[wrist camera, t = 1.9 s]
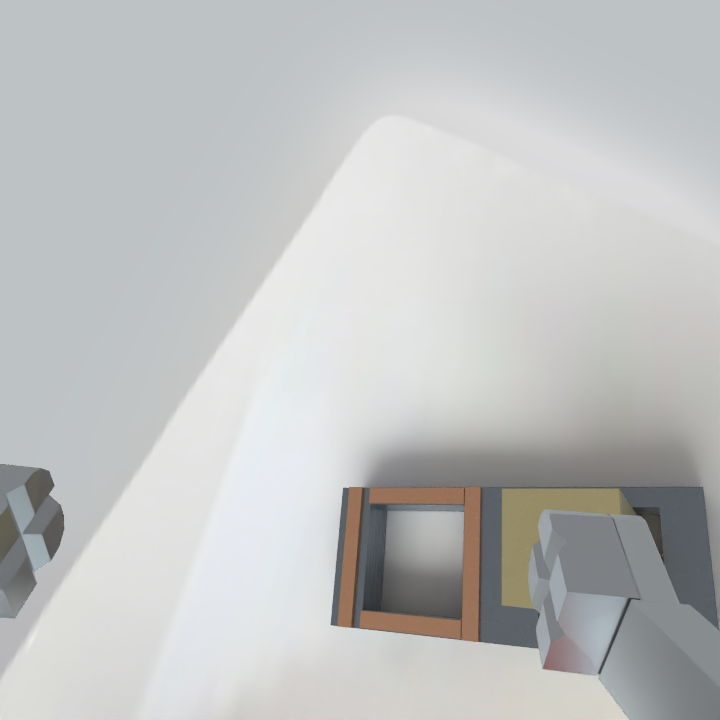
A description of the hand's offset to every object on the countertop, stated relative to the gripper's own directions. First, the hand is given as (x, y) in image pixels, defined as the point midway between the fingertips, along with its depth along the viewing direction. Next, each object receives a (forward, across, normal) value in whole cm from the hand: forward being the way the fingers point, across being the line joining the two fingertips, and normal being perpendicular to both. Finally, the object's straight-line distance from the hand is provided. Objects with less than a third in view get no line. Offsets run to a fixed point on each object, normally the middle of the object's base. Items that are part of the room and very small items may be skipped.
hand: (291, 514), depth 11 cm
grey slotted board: (+17, -9, +21) cm, 29 cm away
